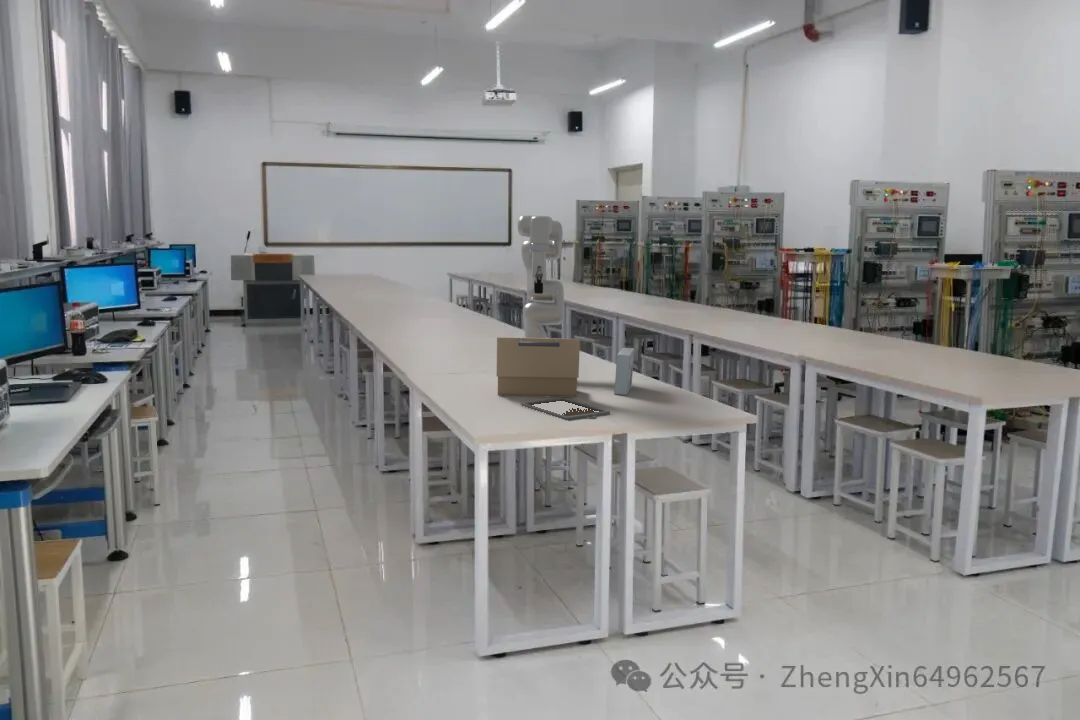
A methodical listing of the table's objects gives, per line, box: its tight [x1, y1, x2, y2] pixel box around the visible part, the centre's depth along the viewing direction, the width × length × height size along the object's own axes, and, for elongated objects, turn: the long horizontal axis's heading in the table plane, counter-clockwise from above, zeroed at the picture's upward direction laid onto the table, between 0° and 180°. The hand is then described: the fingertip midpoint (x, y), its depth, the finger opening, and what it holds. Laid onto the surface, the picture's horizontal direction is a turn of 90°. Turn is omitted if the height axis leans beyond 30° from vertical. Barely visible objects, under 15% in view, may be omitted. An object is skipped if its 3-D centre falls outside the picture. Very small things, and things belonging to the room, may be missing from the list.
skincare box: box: [613, 347, 635, 396], centre depth 341 cm, size 21×6×16 cm, turn 168°
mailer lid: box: [496, 336, 581, 379], centre depth 318 cm, size 15×31×9 cm
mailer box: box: [497, 376, 578, 398], centre depth 332 cm, size 14×30×8 cm, turn 91°
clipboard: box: [520, 397, 611, 421], centre depth 303 cm, size 19×2×30 cm
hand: (538, 292), depth 335 cm, fingers open, 9 cm apart
